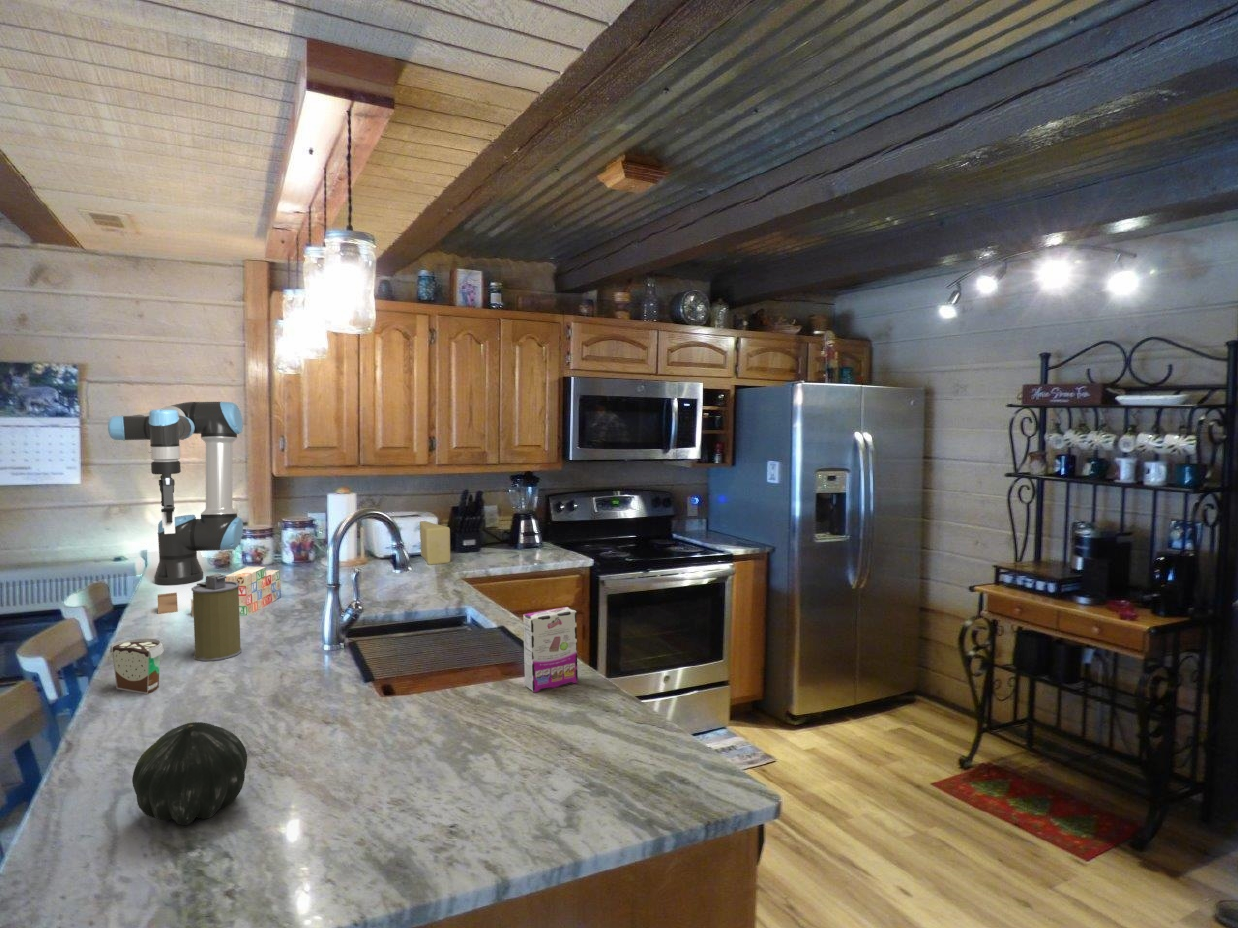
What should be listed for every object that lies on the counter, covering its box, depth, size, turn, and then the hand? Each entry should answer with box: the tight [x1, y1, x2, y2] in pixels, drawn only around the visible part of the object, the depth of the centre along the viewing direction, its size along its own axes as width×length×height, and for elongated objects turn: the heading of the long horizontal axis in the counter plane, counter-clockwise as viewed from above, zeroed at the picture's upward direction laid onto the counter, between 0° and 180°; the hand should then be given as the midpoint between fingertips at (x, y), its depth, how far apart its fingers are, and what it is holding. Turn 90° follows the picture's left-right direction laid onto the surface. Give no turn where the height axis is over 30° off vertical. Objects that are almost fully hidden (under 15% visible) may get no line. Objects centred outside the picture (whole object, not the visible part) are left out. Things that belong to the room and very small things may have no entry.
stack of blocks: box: [225, 566, 282, 616], centre depth 228 cm, size 21×6×12 cm, turn 179°
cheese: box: [419, 520, 451, 566], centre depth 301 cm, size 22×10×15 cm, turn 32°
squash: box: [131, 721, 248, 826], centre depth 110 cm, size 14×15×15 cm
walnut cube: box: [157, 592, 179, 615], centre depth 222 cm, size 5×5×5 cm
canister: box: [190, 573, 243, 662], centre depth 181 cm, size 11×10×20 cm
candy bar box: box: [522, 606, 579, 693], centre depth 161 cm, size 11×5×16 cm, turn 122°
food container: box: [109, 637, 165, 695], centre depth 160 cm, size 12×6×10 cm, turn 71°
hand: (168, 530), depth 221 cm, fingers open, 13 cm apart
